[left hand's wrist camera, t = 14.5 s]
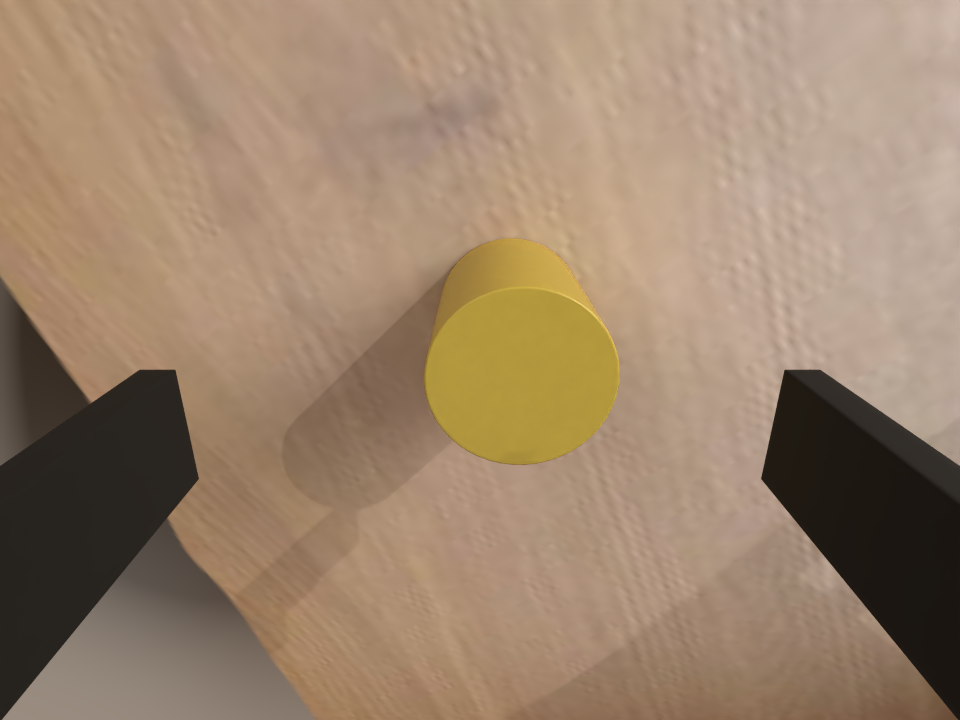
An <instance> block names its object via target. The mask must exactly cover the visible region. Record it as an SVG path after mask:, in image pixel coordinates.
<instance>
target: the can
mask: <svg viewBox="0 0 960 720" xmlns="http://www.w3.org/2000/svg"><path fill="white" fill-rule="evenodd" d="M619 376H620V374H619V360H618V355H617V351H616V348H615V345H614V342H613V340H612V338H611V336H610V334H609V332H608V330H607V328H606V327H605V325H604V324H603V322H602V320H601V319H600V317H599V316H598V314H597V312H596V311H595V309H594V308H593V306H592V304H591V303H590V301H589V300H588V298H587V296H586V295H585V293H584V292H583V290H582V288H581V287H580V285H579V284H578V282H577V281H576V279H575V277H574V276H573V274H572V273H571V271H570V269H569V268H568V267H567V265H566V264H565V263H564V262H563V261H562V259H561V258H560V257H559V256H557V255H556V254H555V253H554V252H552V251H551V250H549V249H548V248H546V247H544V246H542V245H540V244H538V243H535V242H532V241H528V240H523V239H500V240H495V241H491V242H488V243H485V244H483V245H480V246H478V247H477V248H475V249H473V250H471V251H470V252H469V253H467V254H466V255H465V256H464V257H463V258H462V259H461V260H460V261H459V262H458V263H457V264H456V265H455V266H454V268H453V269H452V270H451V272H450V274H449V276H448V277H447V280H446V282H445V284H444V287H443V291H442V295H441V299H440V303H439V308H438V312H437V316H436V320H435V324H434V328H433V333H432V337H431V341H430V345H429V349H428V353H427V358H426V362H425V370H424V387H425V392H426V398H427V401H428V404H429V407H430V409H431V411H432V413H433V415H434V418H435V419H436V421H437V422H438V424H439V425H440V427H441V428H442V429H443V430H444V432H445V433H446V434H447V435H448V436H449V437H450V438H451V439H452V440H453V441H455V442H456V443H457V444H458V445H459V446H461V447H462V448H464V449H465V450H467V451H468V452H470V453H472V454H474V455H476V456H478V457H481V458H484V459H487V460H489V461H494V462H498V463H503V464H512V465H526V464H536V463H541V462H545V461H549V460H552V459H555V458H558V457H560V456H563V455H565V454H567V453H569V452H571V451H572V450H574V449H576V448H577V447H579V446H580V445H582V444H583V443H584V442H585V441H587V440H588V439H589V438H590V437H591V436H592V435H593V434H594V433H595V432H596V431H597V430H598V429H599V427H600V426H601V425H602V424H603V422H604V421H605V419H606V418H607V416H608V414H609V412H610V411H611V408H612V406H613V403H614V401H615V398H616V394H617V391H618V385H619Z"/></svg>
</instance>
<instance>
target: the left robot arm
mask: <svg viewBox="0 0 960 720" xmlns="http://www.w3.org/2000/svg"><path fill="white" fill-rule="evenodd" d="M198 479H199V478H198V473H197V468H196V464H195V459H194V454H193V450H192V445H191V440H190V436H189V431H188V426H187V422H186V417H185V412H184V408H183V403H182V399H181V394H180V389H179V385H178V380H177V375H176V371H175V370H139V371H137V372H136V373H134V374H133V375H132V376H130V377H129V378H127V379H126V380H124V381H123V382H121V383H120V384H119V385H117V386H116V387H114V388H113V389H111V390H110V391H108V392H107V393H105V394H104V395H103V396H101V397H100V398H98V399H97V400H95V401H94V402H92V403H91V404H90V405H88V406H87V407H85V408H84V409H82V410H81V411H79V412H78V413H76V414H75V415H74V416H72V417H71V418H69V419H68V420H66V421H65V422H63V423H62V424H61V425H59V426H58V427H56V428H55V429H53V430H52V431H50V432H49V433H47V434H46V435H45V436H43V437H42V438H40V439H39V440H37V441H36V442H34V443H33V444H32V445H30V446H29V447H27V448H26V449H24V450H23V451H21V452H20V453H18V454H17V455H16V456H14V457H13V458H11V459H10V460H8V461H7V462H5V463H4V464H3V465H1V466H0V720H2V719H3V717H4V716H5V715H6V714H7V713H8V711H9V710H10V709H11V708H12V706H13V705H14V704H15V703H16V702H17V700H18V699H19V698H20V697H21V696H22V694H23V693H24V692H25V691H26V689H27V688H28V687H29V686H30V684H31V683H32V682H33V681H34V680H35V678H36V677H37V676H38V675H39V674H40V672H41V671H42V670H43V669H44V667H45V666H46V665H47V664H48V663H49V661H50V660H51V659H52V658H53V656H54V655H55V654H56V653H57V651H58V650H59V649H60V648H61V647H62V645H63V644H64V643H65V642H66V641H67V639H68V638H69V637H70V636H71V634H72V633H73V632H74V631H75V630H76V628H77V627H78V626H79V625H80V623H81V622H82V621H83V620H84V619H85V617H86V616H87V615H88V614H89V612H90V611H91V610H92V609H93V608H94V606H95V605H96V604H97V603H98V601H99V600H100V599H101V598H102V597H103V595H104V594H105V593H106V592H107V590H108V589H109V588H110V587H111V585H112V584H113V583H114V582H115V581H116V579H117V578H118V577H119V576H120V575H121V573H122V572H123V571H124V570H125V568H126V567H127V566H128V565H129V564H130V562H131V561H132V560H133V559H134V557H135V556H136V555H137V554H138V553H139V551H140V550H141V549H142V548H143V546H144V545H145V544H146V543H147V542H148V540H149V539H150V538H151V537H152V535H153V534H154V533H155V532H156V531H157V529H158V528H159V527H160V526H161V524H162V523H163V522H164V521H165V520H166V518H167V517H168V516H169V515H170V513H171V512H172V511H173V510H174V509H175V507H176V506H177V505H178V504H179V502H180V501H181V500H182V499H183V498H184V496H185V495H186V494H187V493H188V491H189V490H190V489H191V488H192V487H193V485H194V484H195V483H196V482H197V480H198ZM761 479H762V480H763V482H764V483H765V484H766V485H767V487H768V488H769V489H770V490H771V491H772V493H773V494H774V495H775V496H776V498H777V499H778V500H779V501H780V502H781V504H782V505H783V506H784V507H785V509H786V510H787V511H788V512H789V513H790V515H791V516H792V517H793V518H794V520H795V521H796V522H797V523H798V524H799V526H800V527H801V528H802V529H803V531H804V532H805V533H806V534H807V535H808V537H809V538H810V539H811V540H812V542H813V543H814V544H815V545H816V546H817V548H818V549H819V550H820V551H821V553H822V554H823V555H824V556H825V557H826V559H827V560H828V561H829V562H830V564H831V565H832V566H833V567H834V568H835V570H836V571H837V572H838V573H839V575H840V576H841V577H842V578H843V579H844V581H845V582H846V583H847V584H848V586H849V587H850V588H851V589H852V590H853V592H854V593H855V594H856V595H857V597H858V598H859V599H860V600H861V601H862V603H863V604H864V605H865V606H866V608H867V609H868V610H869V611H870V612H871V614H872V615H873V616H874V617H875V619H876V620H877V621H878V622H879V623H880V625H881V626H882V627H883V628H884V630H885V631H886V632H887V633H888V634H889V636H890V637H891V638H892V639H893V641H894V642H895V643H896V644H897V645H898V647H899V648H900V649H901V650H902V652H903V653H904V654H905V655H906V656H907V658H908V659H909V660H910V661H911V663H912V664H913V665H914V666H915V667H916V669H917V670H918V671H919V672H920V674H921V675H922V676H923V677H924V678H925V680H926V681H927V682H928V683H929V685H930V686H931V687H932V688H933V689H934V691H935V692H936V693H937V694H938V696H939V697H940V698H941V699H942V700H943V702H944V703H945V704H946V705H947V707H948V708H949V709H950V710H951V711H952V713H953V714H954V715H955V716H956V718H957V719H958V720H960V466H959V465H957V464H956V463H955V462H953V461H952V460H950V459H949V458H947V457H946V456H944V455H943V454H942V453H940V452H939V451H937V450H936V449H934V448H933V447H931V446H930V445H928V444H927V443H926V442H924V441H923V440H921V439H920V438H918V437H917V436H915V435H914V434H913V433H911V432H910V431H908V430H907V429H905V428H904V427H902V426H901V425H899V424H898V423H897V422H895V421H894V420H892V419H891V418H889V417H888V416H886V415H885V414H884V413H882V412H881V411H879V410H878V409H876V408H875V407H873V406H872V405H870V404H869V403H868V402H866V401H865V400H863V399H862V398H860V397H859V396H857V395H856V394H855V393H853V392H852V391H850V390H849V389H847V388H846V387H844V386H843V385H841V384H840V383H839V382H837V381H836V380H834V379H833V378H831V377H830V376H828V375H827V374H826V373H824V372H823V371H821V370H785V371H784V375H783V380H782V385H781V389H780V394H779V399H778V403H777V408H776V412H775V417H774V422H773V426H772V431H771V436H770V440H769V445H768V450H767V454H766V459H765V464H764V468H763V473H762V478H761Z"/></svg>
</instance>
